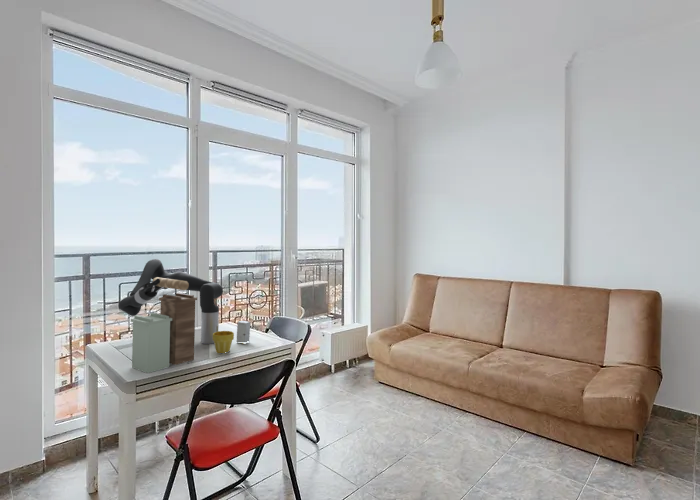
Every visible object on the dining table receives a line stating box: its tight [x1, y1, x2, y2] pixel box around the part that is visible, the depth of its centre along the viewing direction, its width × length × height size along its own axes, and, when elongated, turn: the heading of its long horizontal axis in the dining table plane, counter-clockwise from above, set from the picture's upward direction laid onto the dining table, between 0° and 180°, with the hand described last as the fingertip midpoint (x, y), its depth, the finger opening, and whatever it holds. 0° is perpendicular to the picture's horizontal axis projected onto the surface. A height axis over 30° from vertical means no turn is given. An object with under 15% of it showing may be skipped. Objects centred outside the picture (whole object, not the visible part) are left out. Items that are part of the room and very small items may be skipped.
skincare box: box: [236, 320, 251, 342], centre depth 215 cm, size 6×4×12 cm
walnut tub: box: [158, 292, 198, 366], centre depth 182 cm, size 12×12×31 cm
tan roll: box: [152, 277, 189, 291], centre depth 185 cm, size 22×4×4 cm, turn 59°
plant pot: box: [213, 330, 235, 354], centre depth 198 cm, size 10×10×10 cm
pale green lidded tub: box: [130, 312, 172, 374], centre depth 171 cm, size 12×12×23 cm
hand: (163, 279), depth 187 cm, fingers closed on tan roll, 4 cm apart
